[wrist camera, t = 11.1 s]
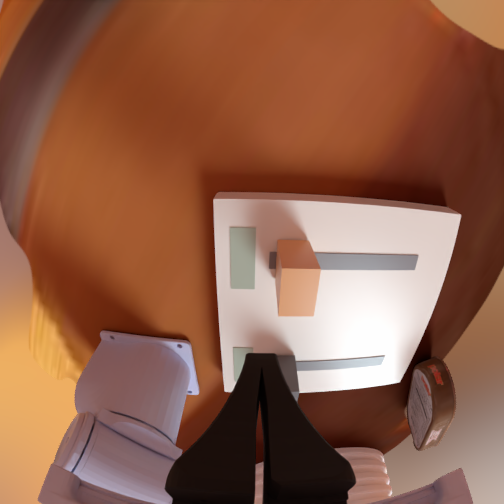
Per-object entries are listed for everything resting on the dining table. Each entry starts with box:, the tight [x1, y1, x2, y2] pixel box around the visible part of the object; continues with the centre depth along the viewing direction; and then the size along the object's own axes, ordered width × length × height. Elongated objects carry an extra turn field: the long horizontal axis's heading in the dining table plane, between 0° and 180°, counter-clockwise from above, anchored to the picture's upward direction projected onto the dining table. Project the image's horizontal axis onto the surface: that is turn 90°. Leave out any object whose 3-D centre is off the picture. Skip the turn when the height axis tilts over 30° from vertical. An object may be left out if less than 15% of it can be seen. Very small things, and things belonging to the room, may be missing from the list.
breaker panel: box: [213, 192, 461, 393], centre depth 21 cm, size 18×18×2 cm
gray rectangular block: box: [277, 355, 300, 401], centre depth 20 cm, size 2×3×4 cm, turn 179°
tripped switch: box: [275, 240, 321, 316], centre depth 16 cm, size 2×3×4 cm, turn 179°
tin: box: [407, 356, 456, 451], centre depth 23 cm, size 15×3×8 cm, turn 18°
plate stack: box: [254, 447, 392, 504], centre depth 34 cm, size 28×28×12 cm
